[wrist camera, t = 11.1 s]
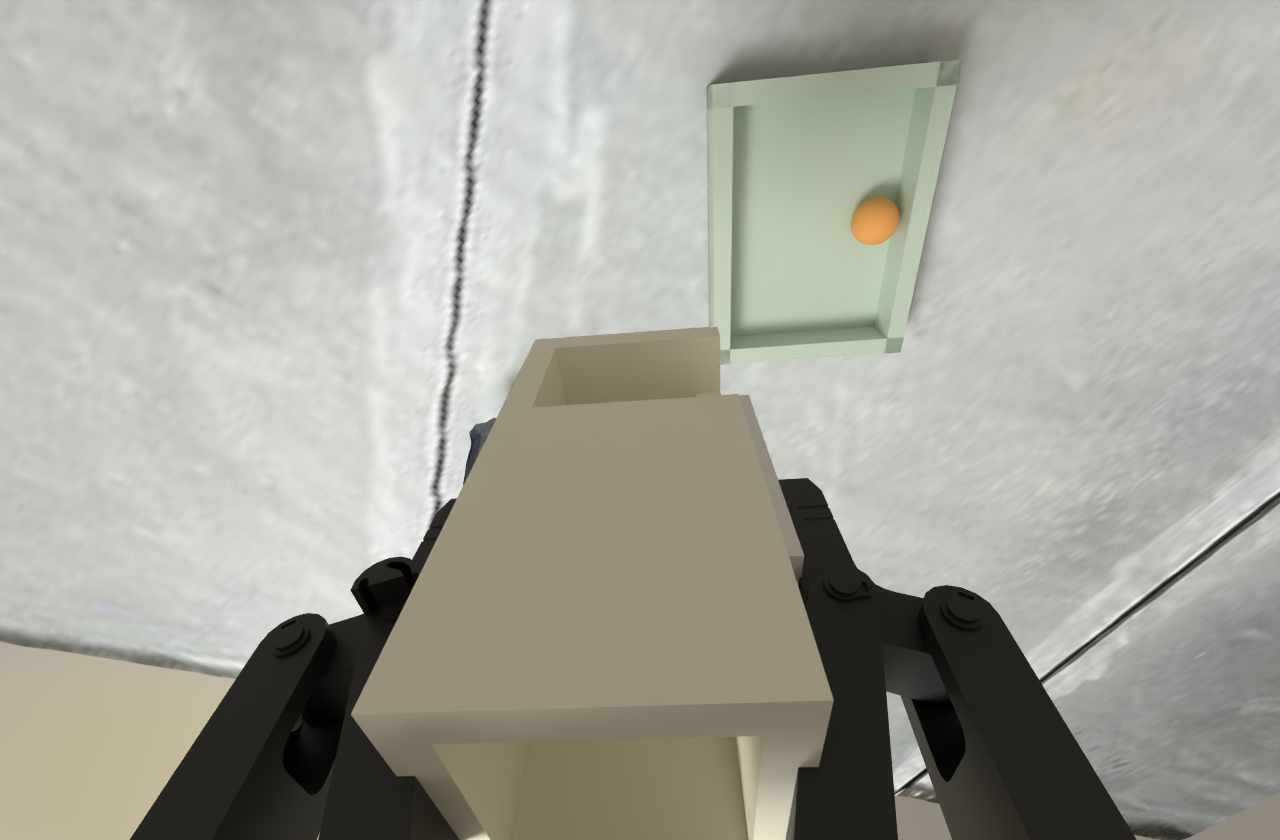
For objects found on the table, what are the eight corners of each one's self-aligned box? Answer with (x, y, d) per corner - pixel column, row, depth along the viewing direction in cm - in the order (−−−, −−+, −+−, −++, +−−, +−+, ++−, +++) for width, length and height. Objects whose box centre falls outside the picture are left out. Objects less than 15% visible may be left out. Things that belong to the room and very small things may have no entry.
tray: (706, 86, 32) (712, 84, 29) (932, 64, 31) (962, 59, 28) (709, 346, 41) (714, 365, 38) (882, 334, 40) (900, 352, 37)
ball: (838, 220, 33) (864, 257, 33) (882, 188, 31) (908, 227, 31) (844, 215, 35) (868, 250, 36) (885, 185, 34) (909, 222, 34)
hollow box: (535, 339, 16) (350, 714, 6) (717, 326, 16) (834, 700, 6) (565, 480, 20) (474, 881, 9) (717, 472, 19) (793, 877, 9)
